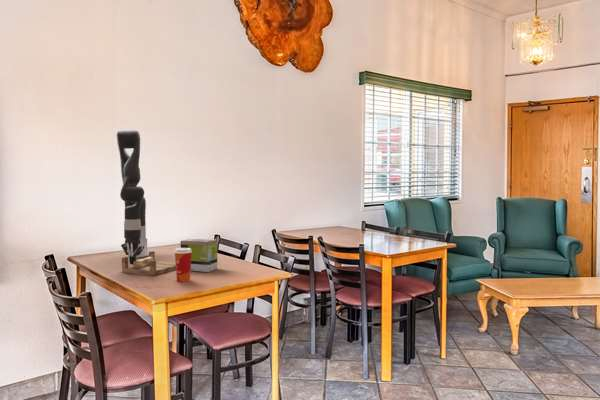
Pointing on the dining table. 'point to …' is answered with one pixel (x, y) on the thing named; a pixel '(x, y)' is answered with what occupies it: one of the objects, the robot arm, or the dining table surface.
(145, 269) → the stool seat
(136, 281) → the dining table surface
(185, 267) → the paper cup
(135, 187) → the robot arm
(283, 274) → the dining table surface
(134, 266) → the tan curved wooden piece
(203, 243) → the tea box
